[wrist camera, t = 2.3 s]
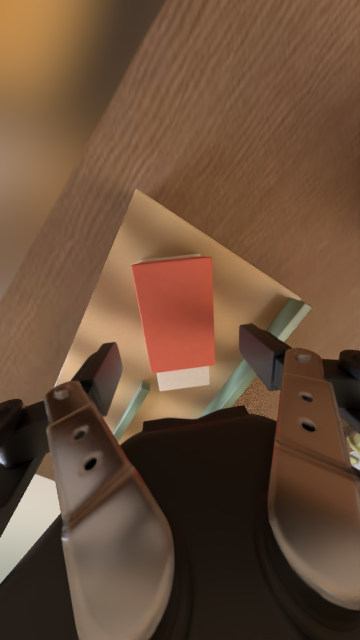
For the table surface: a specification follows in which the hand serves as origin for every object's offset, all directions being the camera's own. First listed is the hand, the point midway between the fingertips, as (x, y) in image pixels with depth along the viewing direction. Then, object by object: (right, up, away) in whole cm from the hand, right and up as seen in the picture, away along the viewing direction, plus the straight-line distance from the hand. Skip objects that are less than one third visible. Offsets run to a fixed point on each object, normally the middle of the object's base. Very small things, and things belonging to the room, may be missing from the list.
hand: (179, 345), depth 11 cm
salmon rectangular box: (0, +2, +6) cm, 6 cm away
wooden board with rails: (-3, -4, +11) cm, 12 cm away
